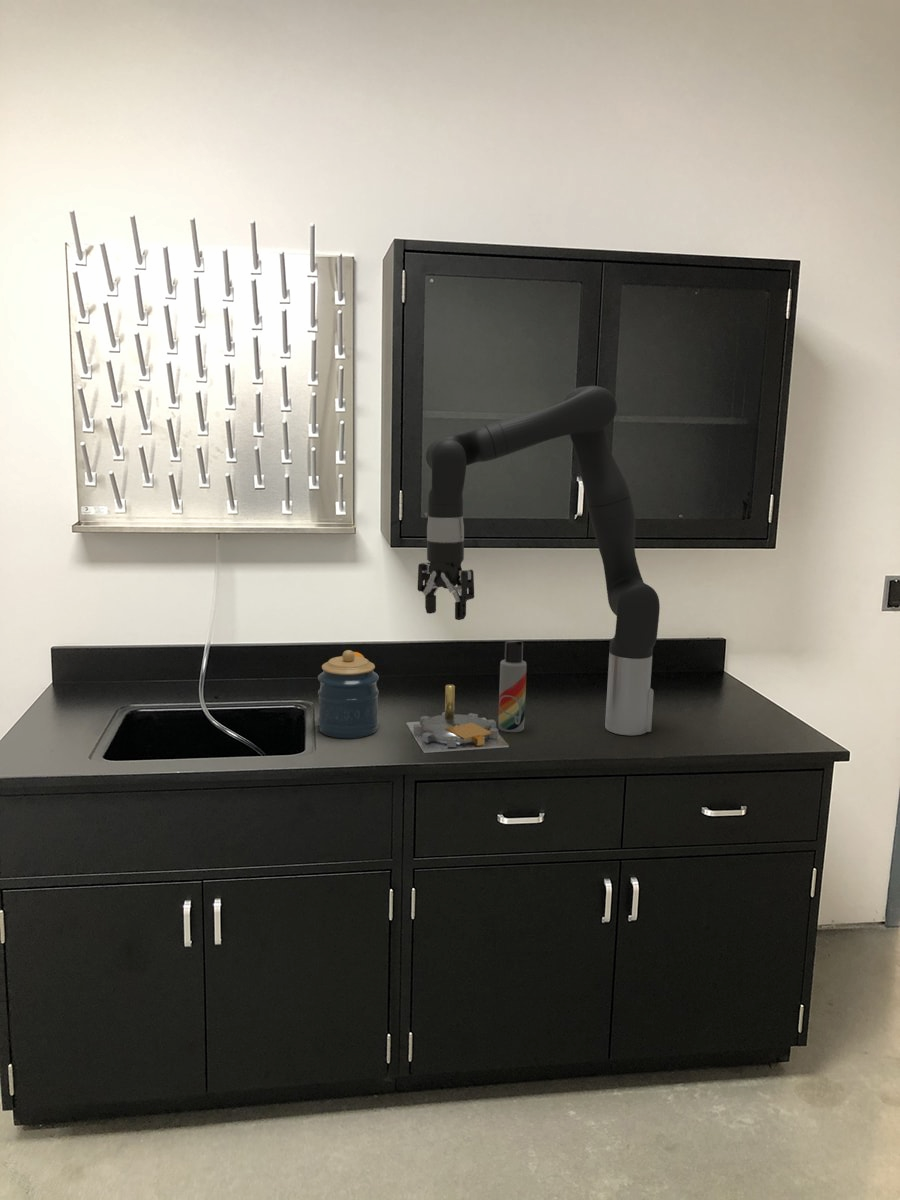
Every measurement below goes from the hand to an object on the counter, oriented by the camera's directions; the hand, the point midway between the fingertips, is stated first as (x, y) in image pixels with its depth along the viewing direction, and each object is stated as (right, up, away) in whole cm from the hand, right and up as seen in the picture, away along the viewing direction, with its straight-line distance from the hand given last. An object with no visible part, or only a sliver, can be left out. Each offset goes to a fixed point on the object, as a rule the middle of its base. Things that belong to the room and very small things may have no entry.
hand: (445, 616), depth 194 cm
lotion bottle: (+14, -25, +12) cm, 31 cm away
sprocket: (+2, -26, +7) cm, 27 cm away
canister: (-21, -25, +9) cm, 34 cm away
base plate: (+2, -26, +7) cm, 27 cm away
